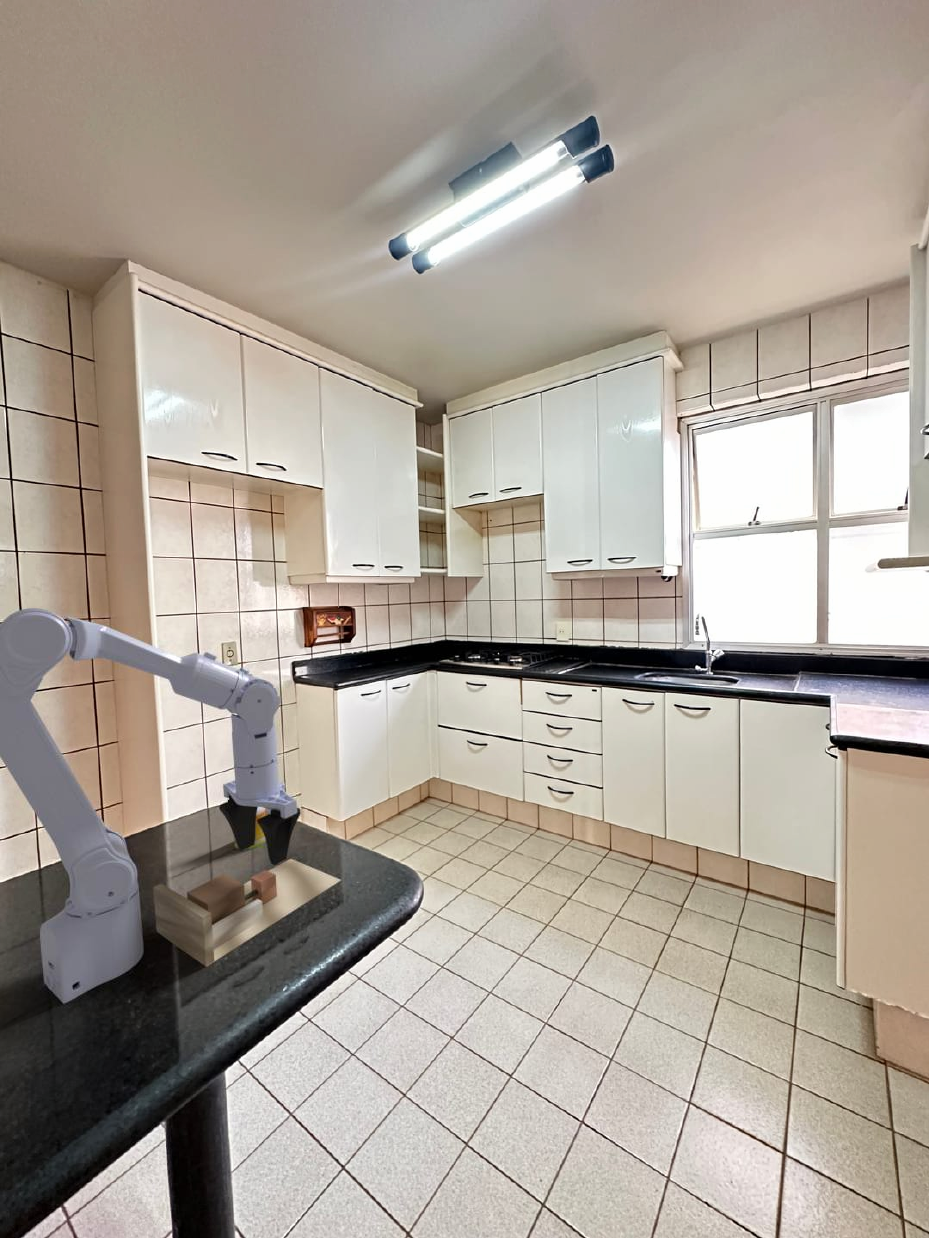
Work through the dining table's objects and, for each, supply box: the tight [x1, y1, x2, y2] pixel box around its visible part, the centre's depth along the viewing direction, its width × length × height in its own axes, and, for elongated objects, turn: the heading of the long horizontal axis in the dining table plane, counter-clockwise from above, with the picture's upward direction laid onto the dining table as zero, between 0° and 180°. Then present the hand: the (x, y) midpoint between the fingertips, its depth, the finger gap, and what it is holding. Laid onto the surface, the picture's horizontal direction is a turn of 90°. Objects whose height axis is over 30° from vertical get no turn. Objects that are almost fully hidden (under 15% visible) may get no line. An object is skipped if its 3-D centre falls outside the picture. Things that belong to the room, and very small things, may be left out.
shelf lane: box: [152, 858, 342, 967], centre depth 74 cm, size 21×12×7 cm, turn 146°
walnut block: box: [186, 869, 277, 925], centre depth 71 cm, size 11×5×5 cm, turn 146°
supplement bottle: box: [233, 807, 267, 851], centre depth 92 cm, size 5×5×10 cm
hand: (262, 854), depth 75 cm, fingers open, 7 cm apart
